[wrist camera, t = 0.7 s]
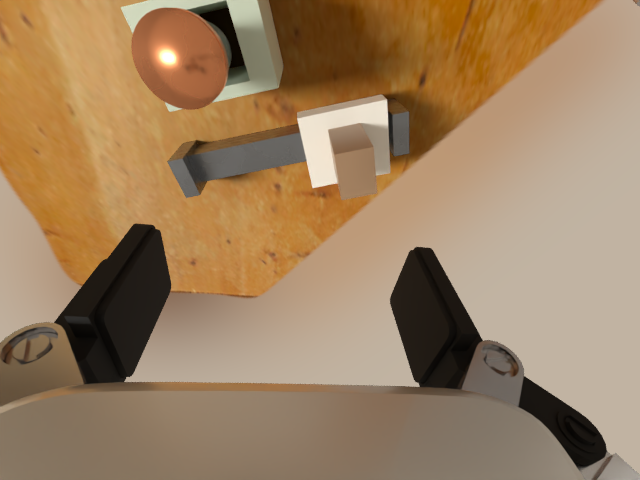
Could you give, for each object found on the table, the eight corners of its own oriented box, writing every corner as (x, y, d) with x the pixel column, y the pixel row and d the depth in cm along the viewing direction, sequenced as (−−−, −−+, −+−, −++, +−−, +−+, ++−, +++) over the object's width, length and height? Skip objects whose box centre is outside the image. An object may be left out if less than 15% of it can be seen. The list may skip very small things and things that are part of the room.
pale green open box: (265, -15, 25) (251, -25, 17) (283, 66, 29) (278, 87, 21) (174, 7, 26) (120, 7, 18) (203, 84, 30) (169, 111, 22)
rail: (394, 98, 31) (409, 111, 27) (396, 136, 34) (409, 153, 30) (182, 143, 33) (167, 161, 29) (198, 176, 35) (186, 197, 31)
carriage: (377, 89, 29) (407, 119, 22) (381, 157, 34) (407, 203, 26) (297, 106, 30) (297, 142, 22) (311, 171, 34) (315, 220, 26)
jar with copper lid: (226, 0, 18) (203, -3, 14) (249, 80, 21) (237, 100, 16) (156, 16, 18) (112, 19, 14) (188, 94, 21) (160, 117, 17)
